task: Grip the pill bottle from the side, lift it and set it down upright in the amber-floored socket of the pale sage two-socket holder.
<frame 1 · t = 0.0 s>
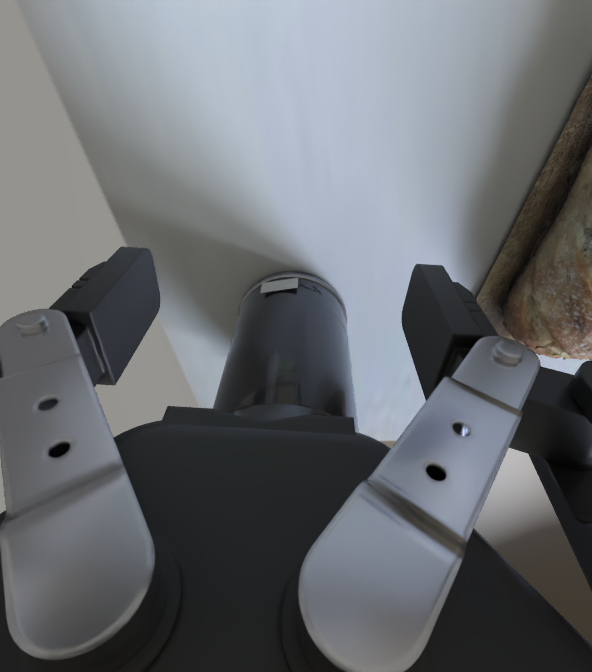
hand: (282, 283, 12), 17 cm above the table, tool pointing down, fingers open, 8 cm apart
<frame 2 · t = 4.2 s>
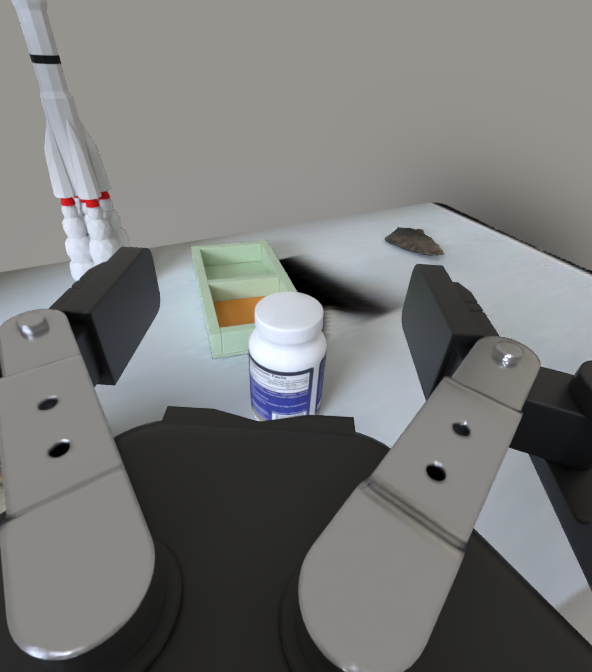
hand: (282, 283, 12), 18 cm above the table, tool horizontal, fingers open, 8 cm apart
rocket model: (110, 285, 45), on the table
pill bottle: (285, 409, 32), on the table
holder: (245, 300, 44), on the table
arrowhead: (417, 248, 59), on the table
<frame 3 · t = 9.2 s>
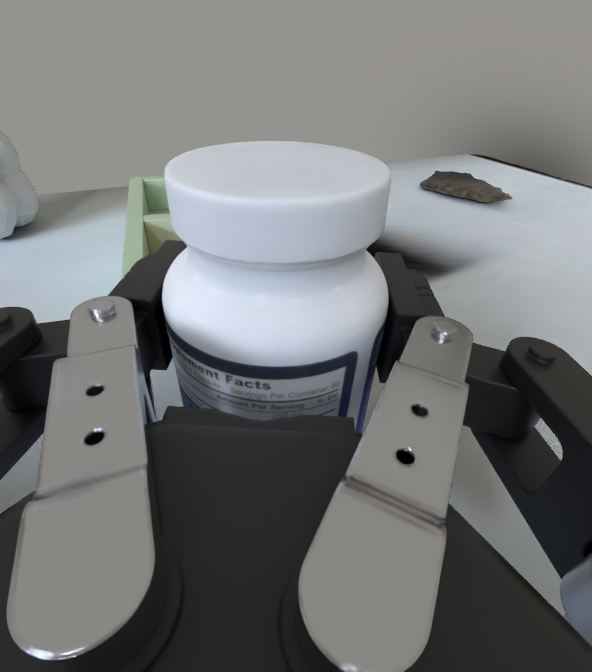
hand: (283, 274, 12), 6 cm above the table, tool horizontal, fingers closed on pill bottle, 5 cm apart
pill bottle: (275, 454, 14), on the table, touching gripper
holder: (211, 254, 27), on the table
arrowhead: (467, 196, 41), on the table
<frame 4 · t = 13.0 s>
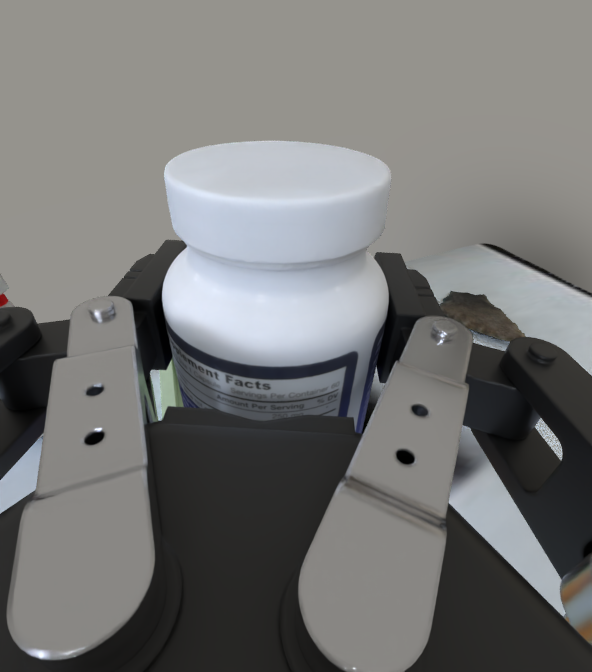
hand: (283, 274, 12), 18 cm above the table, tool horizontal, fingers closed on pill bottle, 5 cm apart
pill bottle: (275, 454, 14), point 11 cm above the table, touching gripper
holder: (242, 451, 27), on the table
arrowhead: (482, 324, 42), on the table
when the fingers open (7 cm above the table, at t = 17.0 s): pill bottle stays where it is, resting on holder.
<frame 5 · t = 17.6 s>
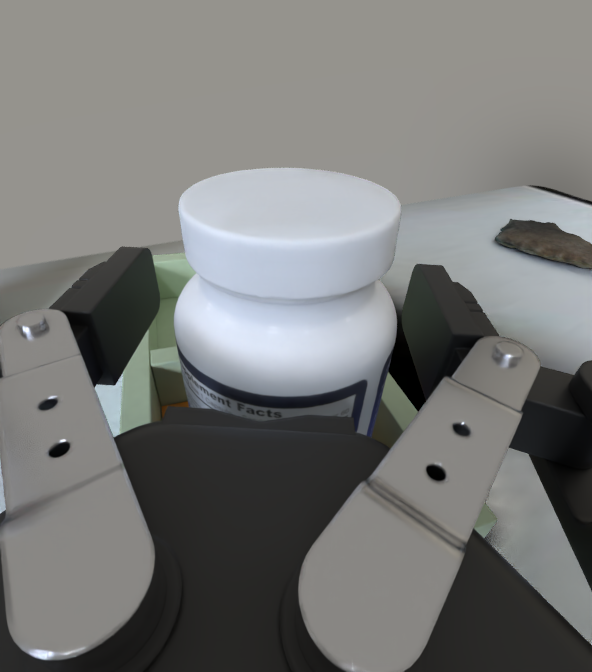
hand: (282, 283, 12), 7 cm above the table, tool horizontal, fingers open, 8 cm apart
pill bottle: (281, 470, 14), resting on holder
holder: (250, 389, 18), on the table
arrowhead: (556, 255, 33), on the table
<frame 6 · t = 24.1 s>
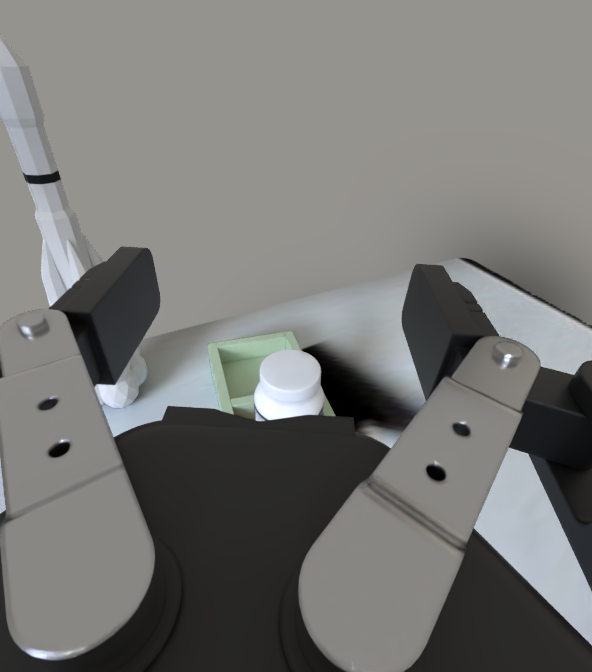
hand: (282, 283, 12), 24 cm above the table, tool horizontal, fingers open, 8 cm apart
rocket model: (117, 395, 40), on the table
pill bottle: (286, 449, 35), resting on holder
holder: (271, 414, 38), on the table
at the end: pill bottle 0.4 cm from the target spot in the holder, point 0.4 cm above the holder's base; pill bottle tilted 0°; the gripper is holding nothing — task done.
